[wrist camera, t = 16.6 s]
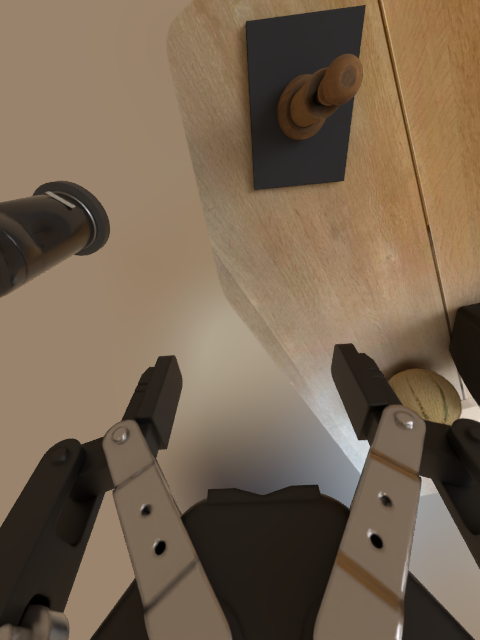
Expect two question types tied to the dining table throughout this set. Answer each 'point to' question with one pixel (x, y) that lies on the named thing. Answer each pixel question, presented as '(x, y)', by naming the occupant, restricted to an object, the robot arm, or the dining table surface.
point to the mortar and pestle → (318, 96)
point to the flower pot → (467, 348)
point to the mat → (272, 78)
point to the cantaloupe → (427, 395)
